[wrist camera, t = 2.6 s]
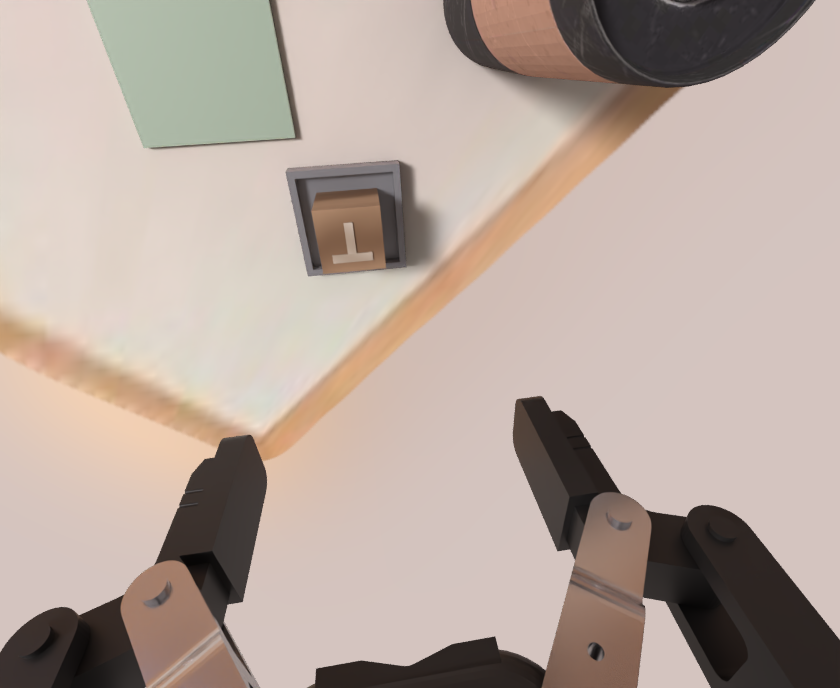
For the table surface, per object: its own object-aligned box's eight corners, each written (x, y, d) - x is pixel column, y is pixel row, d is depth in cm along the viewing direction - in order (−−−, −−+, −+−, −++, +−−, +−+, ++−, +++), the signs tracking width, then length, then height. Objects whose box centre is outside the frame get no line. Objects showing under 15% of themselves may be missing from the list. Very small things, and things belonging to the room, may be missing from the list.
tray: (287, 168, 30) (285, 172, 29) (397, 160, 31) (399, 163, 30) (309, 270, 35) (308, 276, 34) (404, 261, 35) (406, 267, 34)
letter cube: (316, 192, 31) (311, 211, 27) (376, 188, 31) (379, 205, 28) (326, 251, 34) (323, 275, 30) (382, 246, 34) (386, 269, 30)
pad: (68, -55, 23) (64, -57, 22) (257, -60, 23) (256, -62, 23) (146, 147, 28) (143, 148, 28) (295, 136, 29) (295, 137, 29)
